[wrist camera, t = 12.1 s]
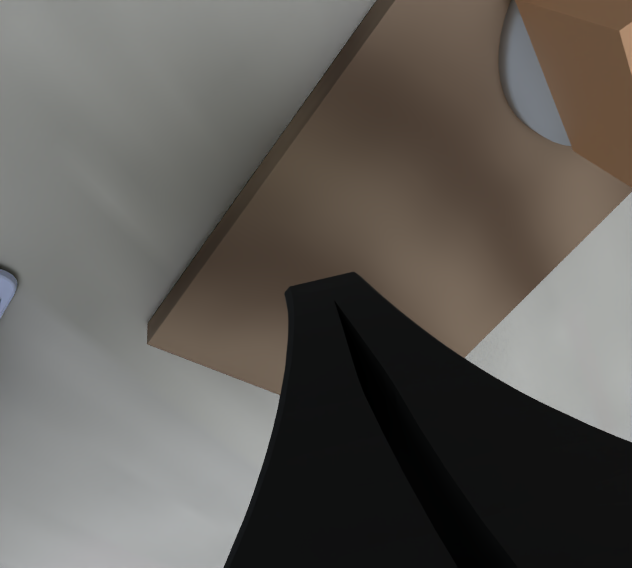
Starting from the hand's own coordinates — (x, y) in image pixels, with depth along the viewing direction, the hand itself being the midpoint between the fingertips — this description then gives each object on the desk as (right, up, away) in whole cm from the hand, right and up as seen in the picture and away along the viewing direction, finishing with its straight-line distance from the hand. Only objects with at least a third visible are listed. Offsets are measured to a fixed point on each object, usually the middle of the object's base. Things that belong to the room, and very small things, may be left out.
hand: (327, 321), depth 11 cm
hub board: (+4, +4, +10) cm, 12 cm away
